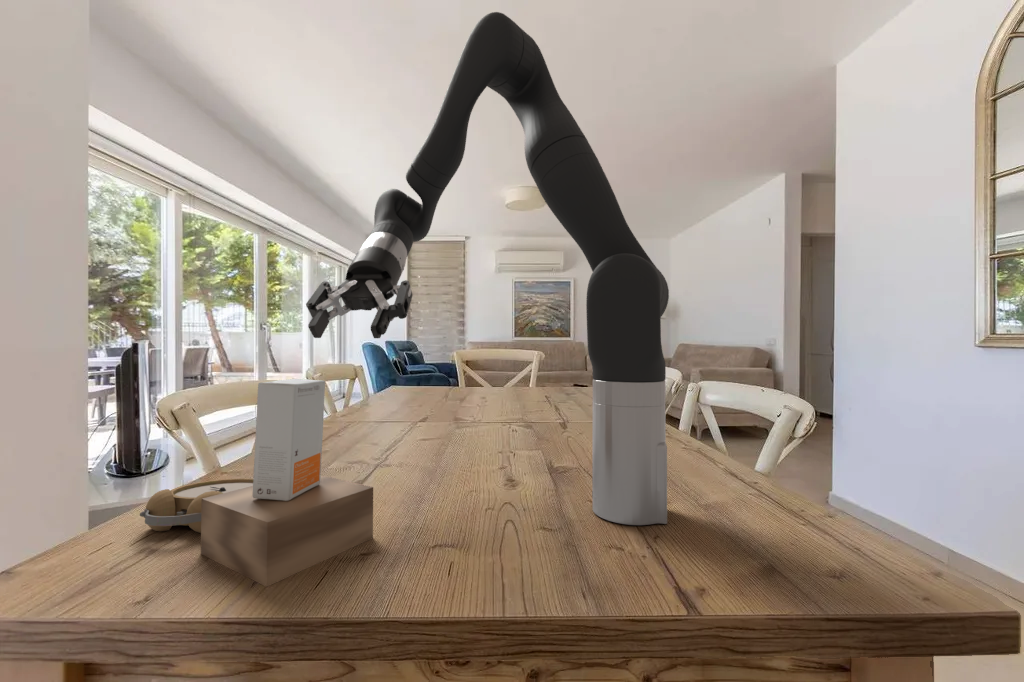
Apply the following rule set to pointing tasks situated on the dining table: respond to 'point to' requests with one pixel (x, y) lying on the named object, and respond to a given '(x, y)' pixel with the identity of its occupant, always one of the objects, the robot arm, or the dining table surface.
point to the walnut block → (285, 528)
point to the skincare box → (288, 438)
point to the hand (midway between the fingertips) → (344, 333)
